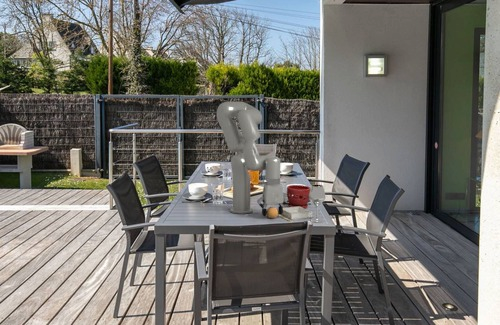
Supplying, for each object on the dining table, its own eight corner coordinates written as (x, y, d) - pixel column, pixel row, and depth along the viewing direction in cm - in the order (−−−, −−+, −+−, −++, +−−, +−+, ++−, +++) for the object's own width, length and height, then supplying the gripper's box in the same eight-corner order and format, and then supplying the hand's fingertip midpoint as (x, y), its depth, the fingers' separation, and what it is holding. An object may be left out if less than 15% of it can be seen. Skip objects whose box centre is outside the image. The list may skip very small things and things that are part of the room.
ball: (264, 217, 252) (264, 206, 252) (275, 216, 255) (275, 205, 254) (269, 220, 247) (269, 208, 246) (280, 219, 249) (280, 207, 248)
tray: (279, 213, 261) (279, 208, 261) (299, 211, 266) (299, 206, 265) (291, 219, 248) (291, 213, 248) (312, 217, 253) (312, 212, 252)
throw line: (273, 213, 262) (273, 212, 262) (275, 213, 262) (275, 212, 262) (290, 222, 244) (290, 221, 244) (293, 221, 244) (293, 221, 244)
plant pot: (284, 209, 271) (285, 188, 269) (288, 204, 283) (288, 184, 282) (308, 211, 268) (308, 189, 266) (311, 206, 280) (311, 185, 279)
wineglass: (323, 219, 250) (323, 184, 248) (326, 223, 242) (327, 187, 240) (307, 219, 250) (307, 184, 248) (309, 223, 242) (310, 187, 239)
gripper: (260, 183, 241) (259, 218, 244) (291, 181, 248) (291, 215, 250) (254, 181, 248) (253, 215, 251) (284, 179, 255) (284, 212, 257)
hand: (272, 215), depth 250 cm, fingers open, 8 cm apart
